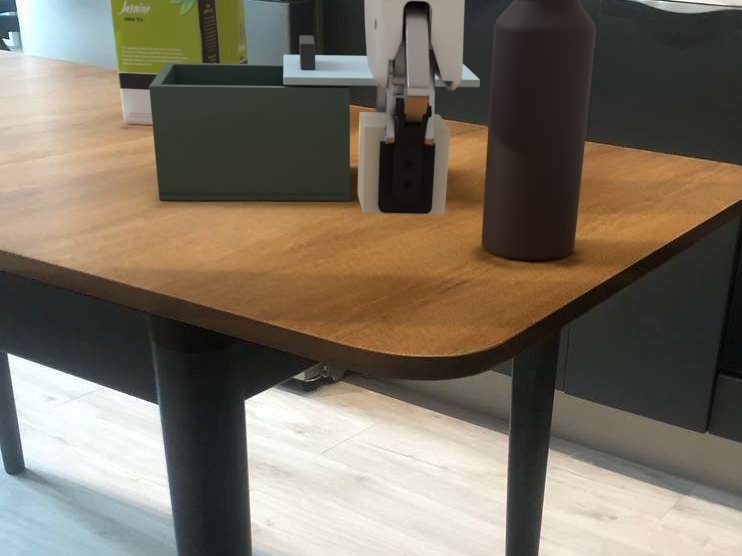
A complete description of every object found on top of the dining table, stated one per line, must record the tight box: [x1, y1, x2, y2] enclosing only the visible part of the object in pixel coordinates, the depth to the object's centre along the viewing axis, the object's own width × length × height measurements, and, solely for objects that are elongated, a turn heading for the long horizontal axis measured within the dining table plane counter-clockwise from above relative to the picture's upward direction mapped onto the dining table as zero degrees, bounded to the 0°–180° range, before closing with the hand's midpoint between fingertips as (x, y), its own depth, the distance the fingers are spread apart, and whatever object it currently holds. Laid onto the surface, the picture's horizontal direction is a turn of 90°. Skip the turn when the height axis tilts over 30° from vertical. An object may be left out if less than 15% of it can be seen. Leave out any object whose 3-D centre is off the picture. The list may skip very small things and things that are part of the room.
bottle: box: [481, 0, 597, 262], centre depth 74 cm, size 7×7×20 cm
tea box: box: [108, 0, 249, 126], centre depth 119 cm, size 15×10×15 cm
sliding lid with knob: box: [282, 34, 481, 88], centre depth 91 cm, size 16×14×3 cm
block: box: [357, 111, 451, 217], centre depth 66 cm, size 5×5×5 cm
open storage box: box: [149, 63, 351, 202], centre depth 93 cm, size 16×14×9 cm
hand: (400, 197), depth 67 cm, fingers closed on block, 5 cm apart
